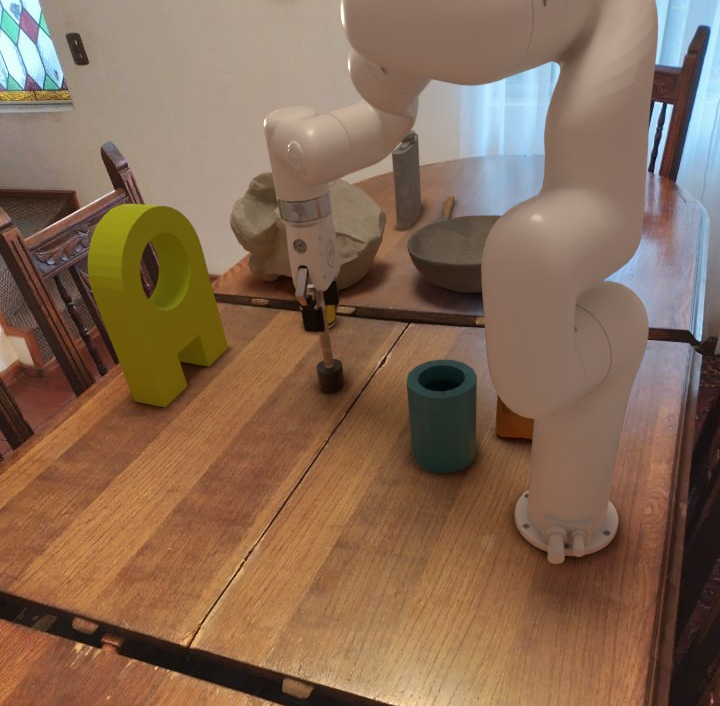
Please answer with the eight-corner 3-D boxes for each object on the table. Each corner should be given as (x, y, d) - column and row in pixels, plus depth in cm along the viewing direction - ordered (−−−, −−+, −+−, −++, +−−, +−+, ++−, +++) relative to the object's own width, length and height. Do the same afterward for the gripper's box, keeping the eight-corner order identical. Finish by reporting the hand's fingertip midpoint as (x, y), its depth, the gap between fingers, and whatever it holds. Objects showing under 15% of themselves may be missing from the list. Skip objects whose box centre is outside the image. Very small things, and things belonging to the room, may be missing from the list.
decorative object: (165, 407, 116) (103, 236, 96) (134, 401, 118) (68, 233, 99) (228, 348, 129) (185, 187, 110) (199, 343, 131) (153, 185, 112)
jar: (472, 475, 94) (472, 399, 86) (407, 471, 97) (401, 396, 88) (478, 434, 101) (479, 360, 93) (417, 431, 103) (413, 358, 95)
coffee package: (572, 402, 105) (589, 268, 90) (553, 450, 96) (568, 311, 82) (509, 391, 109) (515, 261, 94) (486, 437, 100) (489, 302, 86)
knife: (443, 196, 175) (454, 196, 174) (443, 201, 175) (454, 200, 175) (425, 248, 153) (439, 247, 152) (426, 253, 153) (439, 252, 153)
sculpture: (346, 285, 167) (248, 200, 158) (414, 210, 147) (307, 109, 139) (306, 347, 150) (195, 255, 142) (378, 272, 130) (253, 161, 122)
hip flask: (410, 205, 176) (405, 122, 163) (425, 205, 175) (422, 121, 162) (395, 230, 164) (389, 142, 152) (411, 230, 163) (407, 141, 150)
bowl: (398, 312, 133) (395, 263, 126) (421, 255, 152) (419, 210, 145) (536, 315, 126) (540, 264, 120) (541, 255, 145) (545, 208, 139)
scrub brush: (341, 393, 113) (327, 294, 102) (316, 392, 114) (299, 294, 103) (347, 378, 116) (334, 281, 105) (323, 378, 117) (307, 281, 106)
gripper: (313, 229, 88) (331, 346, 100) (345, 183, 101) (357, 292, 112) (260, 230, 90) (283, 345, 101) (297, 185, 103) (314, 291, 114)
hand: (322, 316), depth 107 cm, fingers open, 8 cm apart
